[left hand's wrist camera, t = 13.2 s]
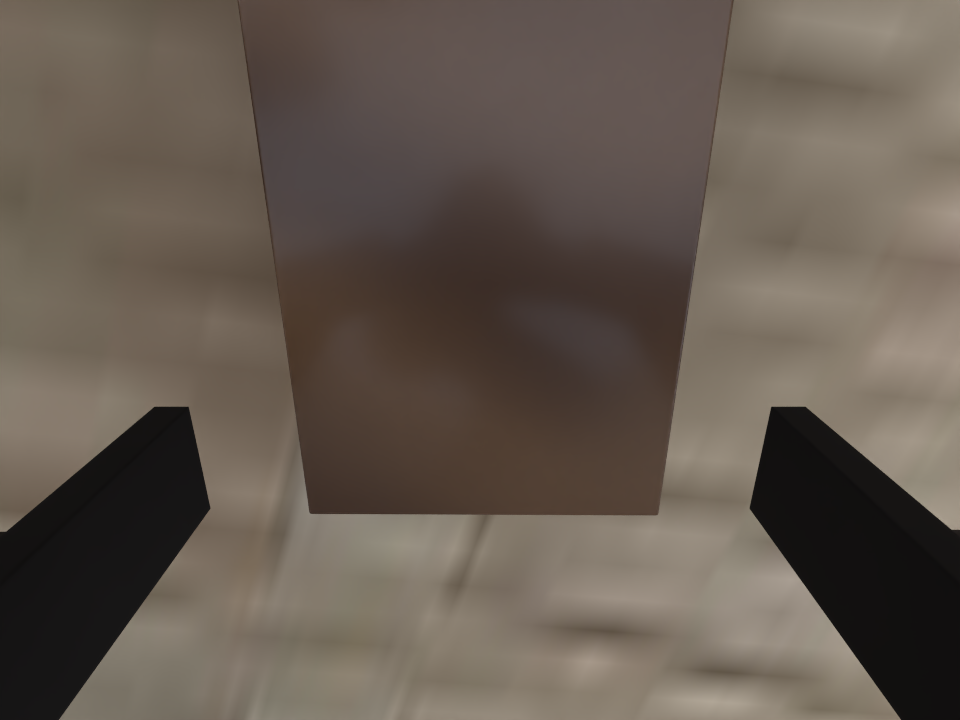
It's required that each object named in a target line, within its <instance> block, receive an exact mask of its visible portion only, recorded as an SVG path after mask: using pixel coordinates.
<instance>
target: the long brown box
mask: <svg viewBox="0 0 960 720" xmlns="http://www.w3.org/2000/svg"><path fill="white" fill-rule="evenodd" d="M733 1H734V0H238V6H239V13H240V20H241V27H242V34H243V42H244V49H245V56H246V63H247V70H248V77H249V84H250V92H251V99H252V106H253V113H254V120H255V127H256V134H257V141H258V149H259V156H260V163H261V170H262V177H263V184H264V191H265V198H266V206H267V213H268V220H269V227H270V234H271V241H272V248H273V255H274V263H275V270H276V277H277V284H278V291H279V298H280V305H281V312H282V320H283V327H284V334H285V341H286V348H287V355H288V362H289V369H290V377H291V384H292V391H293V398H294V405H295V412H296V419H297V426H298V434H299V441H300V448H301V455H302V462H303V469H304V476H305V484H306V491H307V498H308V505H309V512H310V513H311V514H484V515H658V511H659V505H660V498H661V491H662V484H663V477H664V471H665V464H666V457H667V450H668V443H669V436H670V430H671V423H672V416H673V409H674V402H675V396H676V389H677V382H678V375H679V368H680V362H681V355H682V348H683V341H684V334H685V328H686V321H687V314H688V307H689V300H690V293H691V287H692V280H693V273H694V266H695V259H696V253H697V246H698V239H699V232H700V225H701V219H702V212H703V205H704V198H705V191H706V185H707V178H708V171H709V164H710V157H711V150H712V144H713V137H714V130H715V123H716V116H717V110H718V103H719V96H720V89H721V82H722V76H723V69H724V62H725V55H726V48H727V42H728V35H729V28H730V21H731V14H732V8H733Z"/></svg>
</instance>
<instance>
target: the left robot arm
mask: <svg viewBox="0 0 960 720" xmlns="http://www.w3.org/2000/svg"><path fill="white" fill-rule="evenodd" d="M209 510H210V504H209V500H208V495H207V490H206V486H205V481H204V476H203V472H202V467H201V462H200V458H199V453H198V448H197V444H196V439H195V434H194V430H193V425H192V420H191V416H190V411H189V407H154V408H153V409H151V410H150V411H149V412H148V413H147V414H145V415H144V416H143V417H142V418H141V419H140V420H138V421H137V422H136V423H135V424H134V425H132V426H131V427H130V428H129V429H128V430H127V431H125V432H124V433H123V434H122V435H121V436H119V437H118V438H117V439H116V440H115V441H113V442H112V443H111V444H110V445H109V446H108V447H106V448H105V449H104V450H103V451H102V452H100V453H99V454H98V455H97V456H96V457H94V458H93V459H92V460H91V461H90V462H89V463H87V464H86V465H85V466H84V467H83V468H81V469H80V470H79V471H78V472H77V473H75V474H74V475H73V476H72V477H71V478H70V479H68V480H67V481H66V482H65V483H64V484H62V485H61V486H60V487H59V488H58V489H56V490H55V491H54V492H53V493H52V494H51V495H49V496H48V497H47V498H46V499H45V500H43V501H42V502H41V503H40V504H39V505H37V506H36V507H35V508H34V509H33V510H32V511H30V512H29V513H28V514H27V515H26V516H24V517H23V518H22V519H21V520H20V521H19V522H17V523H16V524H15V525H14V526H13V527H11V528H10V529H9V530H8V531H7V532H0V720H59V719H60V717H61V716H62V715H63V713H64V712H65V710H66V709H67V708H68V706H69V705H70V703H71V702H72V701H73V699H74V698H75V696H76V695H77V694H78V692H79V691H80V689H81V688H82V687H83V685H84V684H85V682H86V681H87V680H88V678H89V677H90V676H91V674H92V673H93V671H94V670H95V669H96V667H97V666H98V664H99V663H100V662H101V660H102V659H103V657H104V656H105V655H106V653H107V652H108V650H109V649H110V648H111V646H112V645H113V643H114V642H115V641H116V639H117V638H118V636H119V635H120V634H121V632H122V631H123V630H124V628H125V627H126V625H127V624H128V623H129V621H130V620H131V618H132V617H133V616H134V614H135V613H136V611H137V610H138V609H139V607H140V606H141V604H142V603H143V602H144V600H145V599H146V597H147V596H148V595H149V593H150V592H151V591H152V589H153V588H154V586H155V585H156V584H157V582H158V581H159V579H160V578H161V577H162V575H163V574H164V572H165V571H166V570H167V568H168V567H169V565H170V564H171V563H172V561H173V560H174V558H175V557H176V556H177V554H178V553H179V551H180V550H181V549H182V547H183V546H184V545H185V543H186V542H187V540H188V539H189V538H190V536H191V535H192V533H193V532H194V531H195V529H196V528H197V526H198V525H199V524H200V522H201V521H202V519H203V518H204V517H205V515H206V514H207V512H208V511H209ZM750 510H751V511H752V512H753V514H754V515H755V517H756V518H757V519H758V521H759V522H760V524H761V525H762V526H763V528H764V529H765V531H766V532H767V533H768V535H769V536H770V538H771V539H772V540H773V542H774V543H775V545H776V546H777V547H778V549H779V550H780V551H781V553H782V554H783V556H784V557H785V558H786V560H787V561H788V563H789V564H790V565H791V567H792V568H793V570H794V571H795V572H796V574H797V575H798V577H799V578H800V579H801V581H802V582H803V584H804V585H805V586H806V588H807V589H808V591H809V592H810V593H811V595H812V596H813V597H814V599H815V600H816V602H817V603H818V604H819V606H820V607H821V609H822V610H823V611H824V613H825V614H826V616H827V617H828V618H829V620H830V621H831V623H832V624H833V625H834V627H835V628H836V630H837V631H838V632H839V634H840V635H841V636H842V638H843V639H844V641H845V642H846V643H847V645H848V646H849V648H850V649H851V650H852V652H853V653H854V655H855V656H856V657H857V659H858V660H859V662H860V663H861V664H862V666H863V667H864V669H865V670H866V671H867V673H868V674H869V676H870V677H871V678H872V680H873V681H874V682H875V684H876V685H877V687H878V688H879V689H880V691H881V692H882V694H883V695H884V696H885V698H886V699H887V701H888V702H889V703H890V705H891V706H892V708H893V709H894V710H895V712H896V713H897V715H898V716H899V717H900V719H901V720H960V530H951V529H950V528H949V527H947V526H946V525H945V524H944V523H943V522H941V521H940V520H939V519H938V518H937V517H936V516H934V515H933V514H932V513H931V512H930V511H928V510H927V509H926V508H925V507H924V506H923V505H921V504H920V503H919V502H918V501H917V500H915V499H914V498H913V497H912V496H911V495H909V494H908V493H907V492H906V491H905V490H904V489H902V488H901V487H900V486H899V485H898V484H896V483H895V482H894V481H893V480H892V479H890V478H889V477H888V476H887V475H886V474H885V473H883V472H882V471H881V470H880V469H879V468H877V467H876V466H875V465H874V464H873V463H871V462H870V461H869V460H868V459H867V458H866V457H864V456H863V455H862V454H861V453H860V452H858V451H857V450H856V449H855V448H854V447H852V446H851V445H850V444H849V443H848V442H847V441H845V440H844V439H843V438H842V437H841V436H839V435H838V434H837V433H836V432H835V431H833V430H832V429H831V428H830V427H829V426H828V425H826V424H825V423H824V422H823V421H822V420H820V419H819V418H818V417H817V416H816V415H815V414H813V413H812V412H811V411H810V410H809V409H807V408H806V407H771V411H770V416H769V420H768V425H767V430H766V434H765V439H764V444H763V448H762V453H761V458H760V462H759V467H758V472H757V476H756V481H755V486H754V490H753V495H752V500H751V504H750Z"/></svg>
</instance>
